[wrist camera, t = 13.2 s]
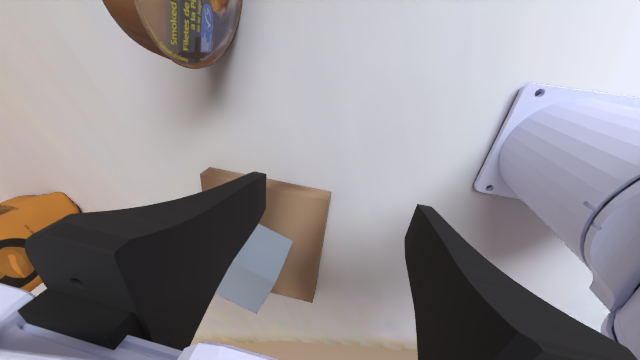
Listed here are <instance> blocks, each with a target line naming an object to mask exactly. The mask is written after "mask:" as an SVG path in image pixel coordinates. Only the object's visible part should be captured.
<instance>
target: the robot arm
mask: <svg viewBox="0 0 640 360" xmlns="http://www.w3.org/2000/svg"><path fill="white" fill-rule="evenodd" d="M538 89H541V93H540V94H539V95H538V96H535V92H536V91H537V90H538ZM489 185H492V186H491V187H490V188H487V189H486V187H487V186H489ZM474 187H475V189H476V190H477V191H479V192H483V193H488V194H493V195H499V196H504V197H509V198H515V199H520V200H522V201H523V202H524V203H525V204H526V205H527V206H528V207H529V208H530V209H531V210H532V211H533V212H534V213H535V214H536V215H537V216H538V217H539V218H540V219H541V220H542V221H543V222H544V223H545V224H546V225H547V226H548V227H549V228H550V229H551V230H552V231H553V232H554V233H555V234H556V235H557V236H558V237H559V238H560V239H561V241H562V242H563V243H564V244H565V245H566V246H567V247H568V248H569V249H570V250H571V251H572V252H573V253H574V254H575V255H576V256H577V257H578V258H579V259H580V260H581V261H582V262H583V263H584V264H585V265H586V266H587V267H588V268H589V269H590V270H591V271H592V273H593V282H592V284H591V286H590V290H591V291H592V292H593V293H594V294H595V295H596V296H597V297H598V298H599V300H600V301H601V302H602V303H603V304H604V305H605V306H606V307H607V308H608V310H609V311H610V312H611V313H609V314H608V315H607V317H606V318H605V319H604V321H603V323H602V326H601V333H599V332H597V331H596V330H594V329H592V328H590V327H588V326H586V325H584V324H583V323H581V322H579V321H577V320H575V319H574V318H572V317H570V316H569V315H567V314H565V313H564V312H562V311H560V310H559V309H557V308H555V307H554V306H552V305H550V304H549V303H547V302H546V301H544V300H542V299H541V298H539V297H538V296H536V295H535V294H533V293H532V292H530V291H529V290H527V289H526V288H524V287H523V286H521V285H520V284H518V283H517V282H515V281H514V280H513V279H511V278H510V277H509V276H507V275H506V274H504V273H503V272H502V271H501V270H499V269H498V268H497V267H495V266H494V265H493V264H492V263H490V262H489V261H488V260H487V259H485V258H484V257H483V256H482V255H481V254H480V253H478V252H477V251H476V250H475V249H474V248H473V247H472V246H471V245H470V244H468V243H467V242H466V241H465V240H464V239H463V238H462V237H461V236H460V235H459V234H458V233H457V232H456V231H455V230H454V229H453V228H452V227H451V226H450V225H449V224H448V223H447V222H446V221H445V220H444V219H443V218H442V217H441V216H440V215H439V214H438V213H437V212H436V211H435V210H434V209H433V208H432V207H429V206H424V205H419V204H417V207H416V209H415V212H414V215H413V217H412V220H411V223H410V225H409V228H408V231H407V233H406V236H405V259H406V265H407V270H408V276H409V281H410V287H411V292H412V297H413V303H414V310H415V319H416V332H417V349H418V360H640V98H639V97H632V96H625V95H617V94H610V93H603V92H595V91H588V90H581V89H573V88H566V87H559V86H552V85H544V84H537V83H528V84H525V85H524V86H523V87H522V88H521V89H520V91H519V93H518V95H517V97H516V99H515V101H514V103H513V105H512V107H511V109H510V112H509V114H508V116H507V118H506V120H505V122H504V124H503V126H502V128H501V130H500V132H499V134H498V136H497V138H496V140H495V142H494V144H493V147H492V149H491V151H490V153H489V155H488V157H487V159H486V161H485V163H484V165H483V167H482V169H481V171H480V173H479V175H478V177H477V179H476V182H475V184H474ZM265 209H266V174H264V173H259V172H252V173H249V174H246V175H244V176H241V177H239V178H236V179H234V180H232V181H229V182H227V183H224V184H222V185H219V186H217V187H214V188H211V189H208V190H206V191H203V192H200V193H197V194H194V195H190V196H187V197H183V198H180V199H176V200H172V201H167V202H162V203H157V204H153V205H148V206H142V207H135V208H128V209H121V210H112V211H101V212H89V213H75V214H69V215H67V216H65V217H63V218H61V219H60V220H58V221H56V222H54V223H52V224H50V225H48V226H47V227H45V228H43V229H41V230H39V231H37V232H35V233H34V234H32V235H30V236H29V237H28V238H27V240H26V243H25V252H26V255H27V257H28V259H29V261H30V263H31V264H32V266H33V267H34V269H35V270H36V272H37V274H38V275H39V277H40V278H41V280H42V281H43V283H44V284H45V286H46V287H47V289H46V290H45V291H43V292H42V293H41V294H39V295H38V296H37V297H35V296H34V295H33V294H31V293H30V292H28V291H26V290H23V289H19V288H16V287H12V286H9V285H5V284H2V283H0V360H279V359H276V358H272V357H269V356H265V355H262V354H258V353H254V352H251V351H248V350H244V349H241V348H237V347H234V346H230V345H227V344H222V343H215V342H207V341H203V342H201V343H198V344H195V345H192V346H190V344H191V342H192V340H193V337H194V335H195V333H196V331H197V329H198V327H199V325H200V323H201V320H202V318H203V316H204V314H205V312H206V310H207V308H208V306H209V304H210V302H211V300H212V298H213V296H214V294H215V292H216V290H217V289H218V287H219V285H220V283H221V281H222V279H223V277H224V276H225V274H226V272H227V270H228V268H229V267H230V265H231V263H232V262H233V260H234V259H235V257H236V256H237V254H238V253H239V252H240V250H241V249H242V247H243V246H244V244H245V243H246V241H247V240H248V239H249V237H250V236H251V234H252V233H253V231H254V230H255V228H256V227H257V225H258V224H259V222H260V220H261V218H262V216H263V214H264V212H265Z"/></svg>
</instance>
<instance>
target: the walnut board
mask: <svg viewBox="0 0 640 360" xmlns="http://www.w3.org/2000/svg"><path fill="white" fill-rule="evenodd" d="M244 175H245V174H240V173H235V172H230V171H225V170H220V169H215V168H210V167H209V168H208V169H207V170H205V171H204V172H202V173H201V174H200V177H201V185H202V192H203V191H206V190H208V189H211V188H214V187H217V186H219V185H222V184H224V183H227V182H229V181H232V180H234V179H236V178H239V177H241V176H244ZM330 196H331V192H330V191H325V190H320V189H315V188H310V187H305V186H300V185H295V184H290V183H285V182H280V181H275V180H270V179H266V209H265V212H264V214H263V216H262V218H261V220H260V222H259V224H260V225H262V226H264V227H266V228H268V229H270V230H272V231H274V232H276V233H278V234H280V235H282V236H284V237H286V238H288V239H290V240H292V241H293V243H292V245H291V247H290V250H289V252H288V255H287V257H286V259H285V262H284V264H283V266H282V269H281V271H280V273H279V276H278V278H277V280H276V283H275V285H274V286H273V288H272V289H271V291H270V292H272V293H276V294H280V295H284V296H288V297H292V298H296V299H300V300H304V301H308V302H311V303H312V302H313V298H314V294H315V289H316V283H317V277H318V271H319V264H320V258H321V252H322V246H323V240H324V233H325V227H326V221H327V215H328V209H329V202H330Z"/></svg>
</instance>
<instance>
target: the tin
mask: <svg viewBox="0 0 640 360" xmlns="http://www.w3.org/2000/svg"><path fill="white" fill-rule="evenodd" d="M102 1H103V3H104V5H105V6H106V8H107V9H108V11H109V13H110V14H111V16H112V17H113V19H114V20H115V21H116V22H117V24H118V25H119V26H120V27H121V29H122V30H123V31H124V32H125V33H126V34H127V35H128V36H129V37H130V38H132V39H133V40H134V41H135V42H137V43H138V44H139V45H141V46H143V47H144V48H146V49H147V50H149V51H151V52H153V53H156V54H158V55H160V56H163V57H165V58H168V59H170V60H172V61H173V62H175V63H177V64H179V65H181V66H183V67H186V68H191V69H198V68H204V67H207V66H209V65H211V64H213V63H214V62H215V61H217V60H218V59H219V58H220V57H221V56H222V55H223V53H224V52H225V51H226V49H227V48H228V46H229V45H230V43H231V41H232V39H233V37H234V34H235V32H236V29H237V26H238V22H239V18H240V14H241V7H242V0H102Z"/></svg>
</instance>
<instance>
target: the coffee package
mask: <svg viewBox="0 0 640 360" xmlns="http://www.w3.org/2000/svg"><path fill="white" fill-rule="evenodd" d="M75 213H80V212H79V209H78V208H77V206H76V204H75V203H72V201H71V200H70V199H69V198H68V197H67V196H66V195H65V194H64V193H61V192H55V193H50V194H43V195H39V196H35V195H24V196H18V197H15V198H12V199H10V200H7V201H5V202H2V203H0V283H2V284H5V285H9V286H12V287H16V288H19V289H23V290H26V291H28V292H31V291H32V290H33V289H34V288H36V287H37V286H38V285H40V284H41V283H43V281H42V280H41V278H40V277H39V275H38V274H37V272H36V270H35V269H34V267H33V266H32V264H31V263H30V261H29V259H28V257H27V255H26V252H25V243H26V240H27V238H28V237H29V236H30V235H32V234H34V233H35V232H37V231H39V230H41V229H43V228H45V227H47V226H48V225H50V224H52V223H54V222H56V221H58V220H60V219H61V218H63V217H65V216H67V215H69V214H75Z"/></svg>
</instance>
